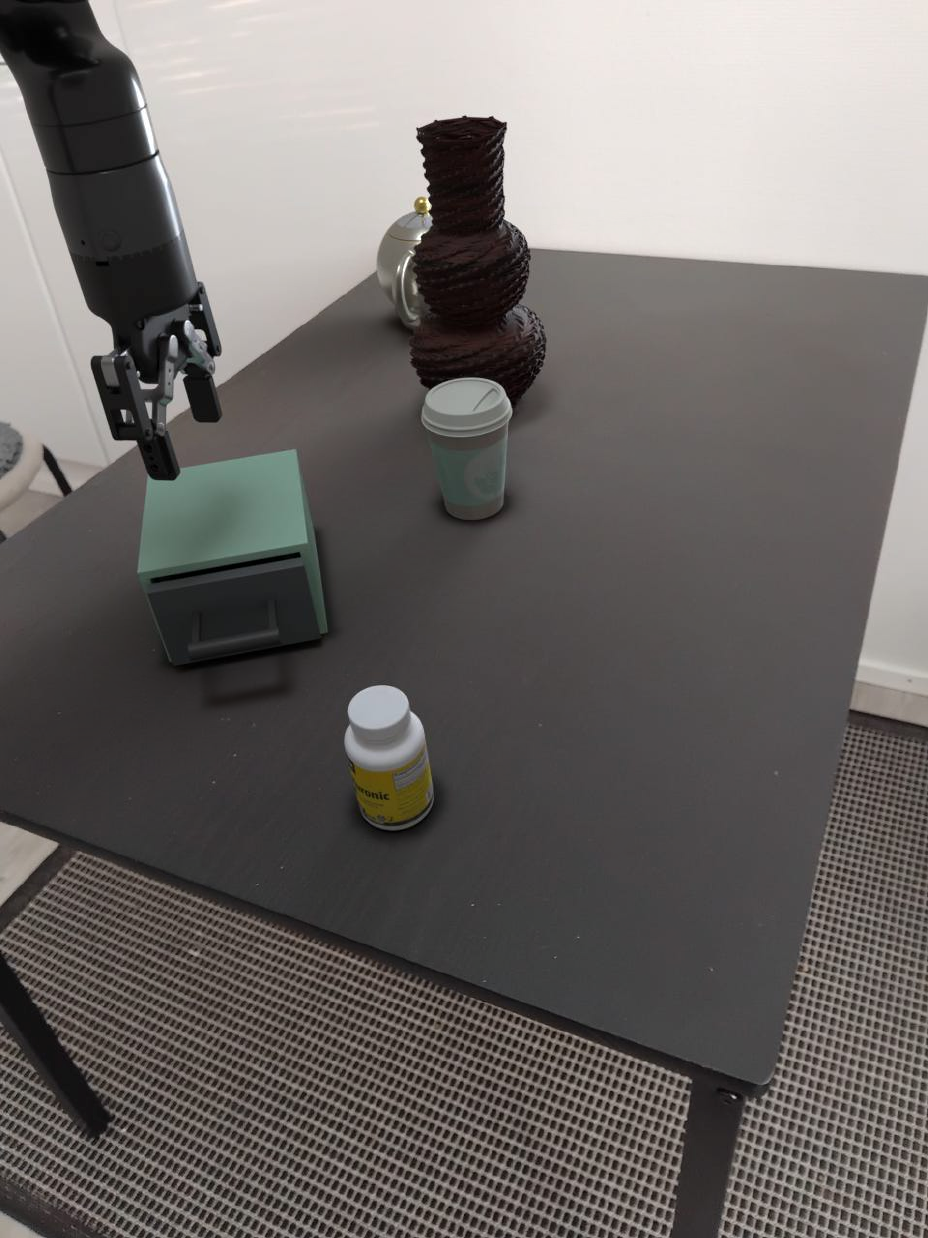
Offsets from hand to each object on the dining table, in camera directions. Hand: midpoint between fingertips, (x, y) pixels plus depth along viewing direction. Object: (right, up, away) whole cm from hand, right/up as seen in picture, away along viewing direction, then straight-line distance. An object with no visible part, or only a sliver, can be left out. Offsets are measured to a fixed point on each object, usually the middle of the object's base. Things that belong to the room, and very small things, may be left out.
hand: (188, 448), depth 75 cm
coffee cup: (+22, -2, +24) cm, 33 cm away
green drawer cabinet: (+1, -11, +15) cm, 19 cm away
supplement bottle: (+16, -26, -5) cm, 31 cm away
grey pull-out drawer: (+2, -13, +11) cm, 17 cm away
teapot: (+16, +27, +58) cm, 66 cm away
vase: (+23, +12, +40) cm, 47 cm away
